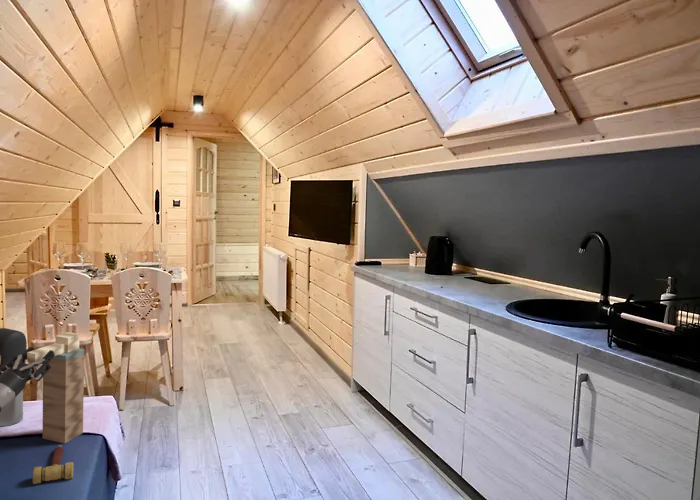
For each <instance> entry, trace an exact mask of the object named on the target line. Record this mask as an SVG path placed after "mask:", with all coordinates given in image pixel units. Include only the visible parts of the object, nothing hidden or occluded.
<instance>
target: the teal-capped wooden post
mask: <svg viewBox="0 0 700 500" xmlns="http://www.w3.org/2000/svg"><path fill="white" fill-rule="evenodd" d="M49 364H50V366H51V369H50V370H49V371H48V372H47V373H46V374H45V375H44V376H43V378H42V440H43V439H44V440H48V441H52V442H55V443H61V444H66V443H68V442H70V441H72V440H73V439H75V438H77V437H79V436H80V435H82V434H83V433H84V395H85V394H84V391H85V390H84V389H85V387H84V386H85V384H84V383H85V376H84V375H85V349H84V348H80V347H79V349H76V350H74V351H71V352H68V353H67V352H65V353H62V354H59V355H56V356H54V357H53V358H52V359H51V361H50V362H49ZM45 368H46V367H45ZM45 368H44V369H45Z"/></svg>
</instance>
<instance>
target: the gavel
mask: <svg viewBox="0 0 700 500" xmlns="http://www.w3.org/2000/svg"><path fill="white" fill-rule="evenodd" d="M63 455H64V448H63V446H62V445H58V446H56V447H55V449H54V451H53V455H52V458H51V459H52V460H51V463H50V466H45V467H43V466H40V465H39V466H35V467H34V468H33V471H32V484H33V485H39V484H42V482H50V481H51V480H52V481H56V480H57V481H58V479H59V480H62V479H64V480H65V479H66V480H70V479H71V478H72V479H73V478H74V468H75V467H74V462H73V461H70V462H65V464H61V463H62V458H63ZM41 481H42V482H41ZM38 483H39V484H38Z"/></svg>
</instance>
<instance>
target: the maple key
mask: <svg viewBox="0 0 700 500" xmlns="http://www.w3.org/2000/svg"><path fill="white" fill-rule="evenodd" d="M79 348H80V333H75V332H70V331H69V332H68V331H66V332H64V333H59V334H57V335H55V342H54V343H52V344H48V345H46V346H41V347H40V348H36V349H34V350H33V351H30V352H27V360H26V362H27V363H30V364H31V363H33V362H38V361H40V360H41V359H42V358H43V357H44V356H45V355H46V354H47V353H48V352H49V351H50V350H52V351H53V352H54V353H55V356H56V355H59V354H62V353H65V352H67V353H68V352H71V351H74V350H76V349H79Z"/></svg>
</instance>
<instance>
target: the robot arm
mask: <svg viewBox="0 0 700 500" xmlns="http://www.w3.org/2000/svg"><path fill="white" fill-rule="evenodd" d="M27 341H28V340H27V337H26V335H25V333H24V332H22V331H19V330H16V329H10V328H6V327H0V427H7V426H12V425H15V424H17V423H18V424H19V422H21V421H22V420H23V418H24V389H25V388H26V385H27V383H28V382H30V380H35V381H36V382H40V381H41V380H43V376H44V375H45V374H46V373H47V372H48V371H49V370H50V369H51V366H50V364H49V362H50V361H51V359H52V358H53V357H54V356H55V353H54V352H53V351H52V350H50V351H49V352H48V353H47V354H46V355H45V356H44V357H43V358H42V359H41V360H40V361H38V362H33V363H31V362H30V363H26V362H27V352H30V351H33V350H35V348H34V347H33V346H29V347H28V348H27V343H28V342H27ZM34 367H35V368H34ZM45 367H46V368H45ZM44 368H45V369H44Z"/></svg>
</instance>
